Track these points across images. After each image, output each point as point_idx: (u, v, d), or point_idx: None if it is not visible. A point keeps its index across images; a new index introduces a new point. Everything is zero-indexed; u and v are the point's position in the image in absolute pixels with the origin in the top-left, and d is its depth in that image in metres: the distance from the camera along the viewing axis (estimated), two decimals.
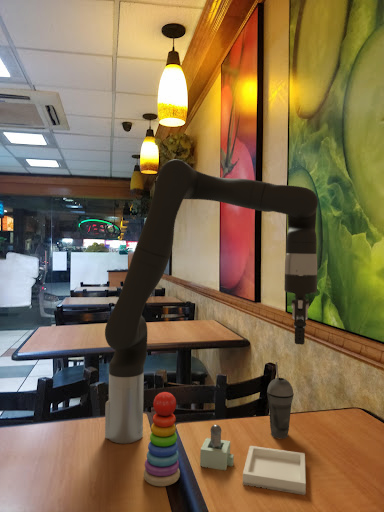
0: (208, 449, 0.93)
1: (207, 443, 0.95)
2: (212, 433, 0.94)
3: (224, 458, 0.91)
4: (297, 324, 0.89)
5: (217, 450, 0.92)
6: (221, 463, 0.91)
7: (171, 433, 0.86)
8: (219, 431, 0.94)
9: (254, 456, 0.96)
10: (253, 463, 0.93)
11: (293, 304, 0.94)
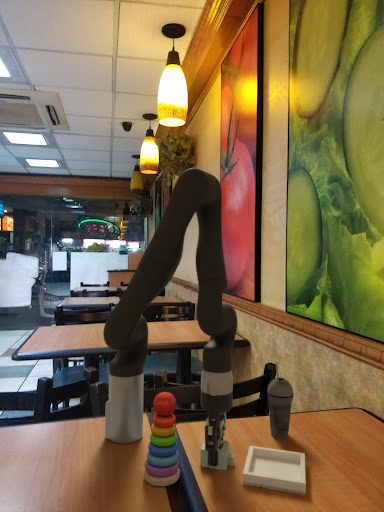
0: None
1: None
2: None
3: (224, 458, 0.91)
4: (208, 449, 0.89)
5: None
6: (221, 463, 0.91)
7: (171, 433, 0.86)
8: None
9: (254, 456, 0.96)
10: (253, 463, 0.93)
11: (208, 422, 0.93)
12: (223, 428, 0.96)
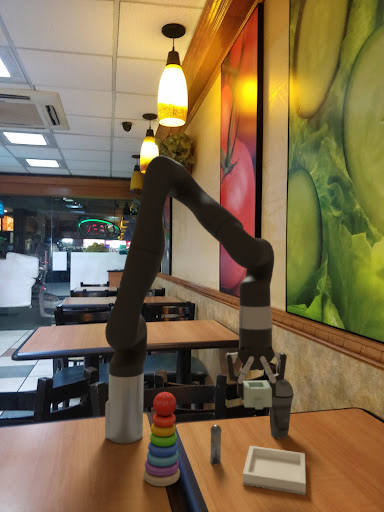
0: (244, 383, 0.92)
1: (255, 381, 0.93)
2: (212, 433, 0.94)
3: (244, 394, 0.88)
4: None
5: (246, 386, 0.90)
6: (244, 399, 0.89)
7: (171, 433, 0.86)
8: (219, 431, 0.94)
9: (254, 456, 0.96)
10: (253, 463, 0.93)
11: None
12: (266, 372, 0.90)
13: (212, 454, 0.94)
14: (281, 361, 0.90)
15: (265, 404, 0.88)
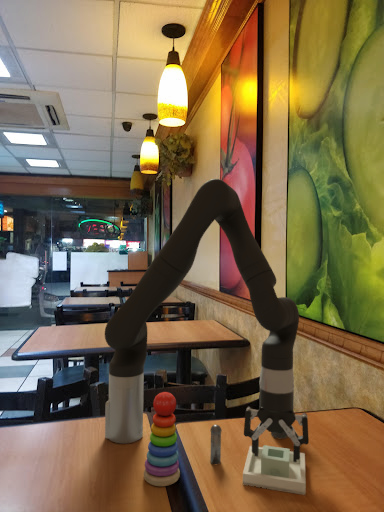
0: (264, 449, 0.92)
1: (277, 449, 0.92)
2: (212, 433, 0.94)
3: (261, 462, 0.88)
4: None
5: (264, 453, 0.90)
6: None
7: (171, 433, 0.86)
8: (219, 431, 0.94)
9: (254, 456, 0.96)
10: (253, 463, 0.93)
11: None
12: None
13: (212, 454, 0.94)
14: (303, 424, 0.87)
15: (282, 476, 0.87)
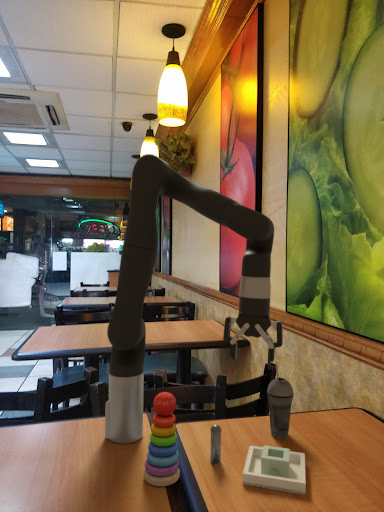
0: (264, 449, 0.92)
1: (277, 449, 0.92)
2: (212, 433, 0.94)
3: (261, 462, 0.88)
4: None
5: (264, 453, 0.90)
6: None
7: (171, 433, 0.86)
8: (219, 431, 0.94)
9: (254, 456, 0.96)
10: (253, 463, 0.93)
11: None
12: None
13: (212, 454, 0.94)
14: (277, 329, 0.95)
15: (282, 476, 0.87)
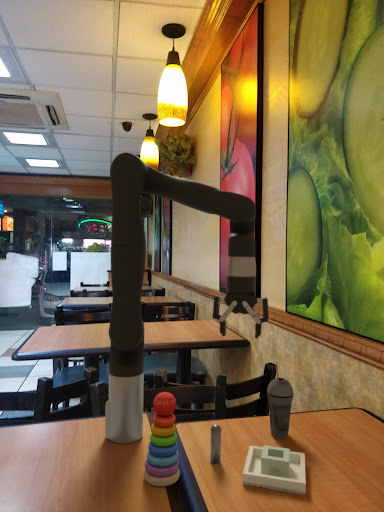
0: (264, 449, 0.92)
1: (277, 449, 0.92)
2: (212, 433, 0.94)
3: (261, 462, 0.88)
4: None
5: (264, 453, 0.90)
6: None
7: (171, 433, 0.86)
8: (219, 431, 0.94)
9: (254, 456, 0.96)
10: (253, 463, 0.93)
11: None
12: None
13: (212, 454, 0.94)
14: (263, 305, 1.00)
15: (282, 476, 0.87)
